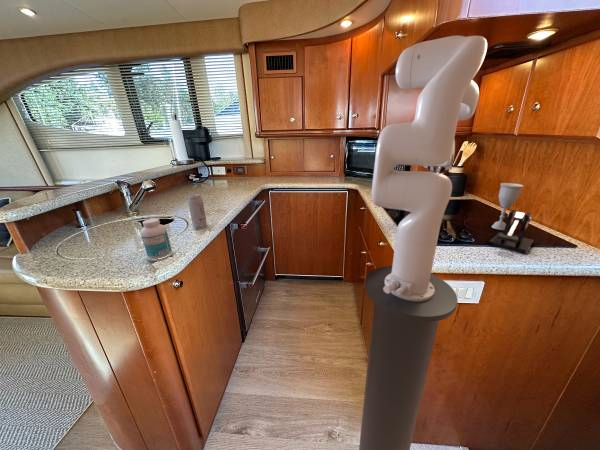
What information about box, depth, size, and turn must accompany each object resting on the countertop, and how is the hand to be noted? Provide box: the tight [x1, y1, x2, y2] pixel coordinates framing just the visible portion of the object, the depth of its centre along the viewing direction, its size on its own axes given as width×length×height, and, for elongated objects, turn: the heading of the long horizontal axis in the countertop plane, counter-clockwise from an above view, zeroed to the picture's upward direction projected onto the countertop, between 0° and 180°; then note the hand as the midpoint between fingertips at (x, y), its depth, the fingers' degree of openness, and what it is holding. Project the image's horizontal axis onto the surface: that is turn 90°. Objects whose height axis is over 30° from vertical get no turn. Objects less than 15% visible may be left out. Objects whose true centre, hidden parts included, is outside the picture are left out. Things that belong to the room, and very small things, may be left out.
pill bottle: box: [140, 218, 173, 262], centre depth 80 cm, size 8×7×14 cm
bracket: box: [488, 209, 535, 255], centre depth 82 cm, size 12×10×12 cm
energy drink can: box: [187, 193, 208, 230], centre depth 107 cm, size 6×6×15 cm
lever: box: [498, 211, 526, 243], centre depth 79 cm, size 12×5×2 cm, turn 129°
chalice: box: [491, 182, 524, 231], centre depth 95 cm, size 7×7×18 cm
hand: (434, 182), depth 99 cm, fingers closed
